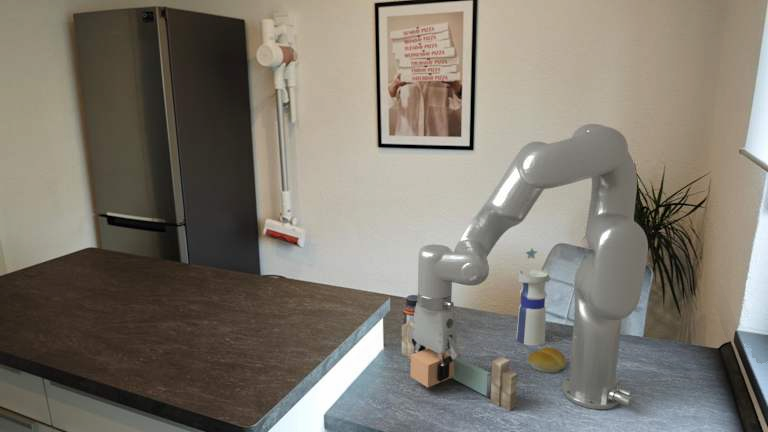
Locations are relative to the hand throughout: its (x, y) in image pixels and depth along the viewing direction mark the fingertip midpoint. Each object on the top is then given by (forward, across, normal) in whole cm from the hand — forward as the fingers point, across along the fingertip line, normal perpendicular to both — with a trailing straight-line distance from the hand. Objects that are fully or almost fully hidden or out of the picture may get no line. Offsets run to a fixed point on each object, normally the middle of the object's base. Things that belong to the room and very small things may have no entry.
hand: (432, 372), depth 124 cm
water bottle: (+3, -1, -37) cm, 37 cm away
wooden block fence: (+3, -1, -6) cm, 7 cm away
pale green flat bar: (+3, -1, -6) cm, 7 cm away
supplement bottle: (+4, +22, -15) cm, 27 cm away
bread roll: (+3, -12, -28) cm, 31 cm away
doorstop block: (+1, 0, 0) cm, 1 cm away
